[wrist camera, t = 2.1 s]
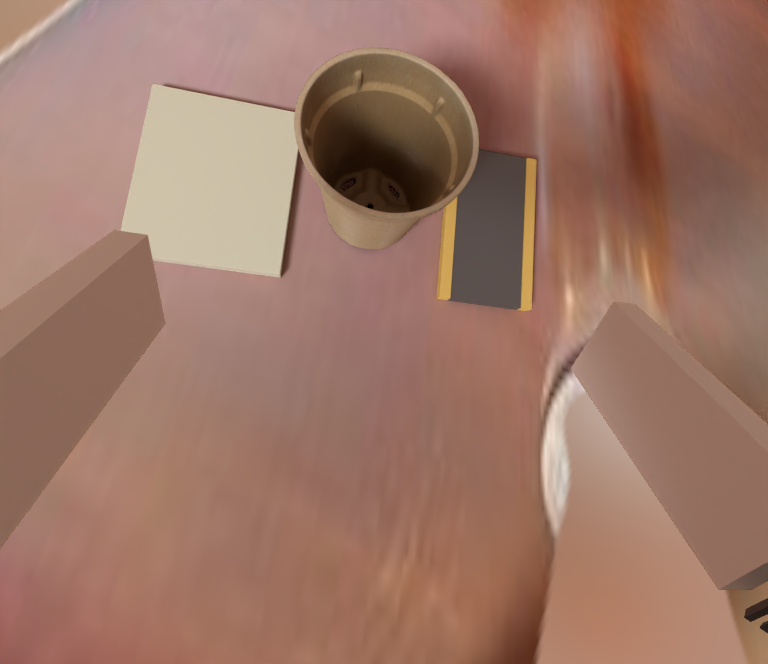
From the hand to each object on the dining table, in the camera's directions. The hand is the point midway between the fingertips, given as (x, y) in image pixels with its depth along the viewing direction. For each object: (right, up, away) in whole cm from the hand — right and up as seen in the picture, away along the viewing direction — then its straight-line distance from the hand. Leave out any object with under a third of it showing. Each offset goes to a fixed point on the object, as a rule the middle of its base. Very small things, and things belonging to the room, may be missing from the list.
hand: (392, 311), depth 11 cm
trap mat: (+8, +7, +17) cm, 20 cm away
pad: (-12, +10, +15) cm, 21 cm away
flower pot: (-1, +8, +16) cm, 18 cm away
